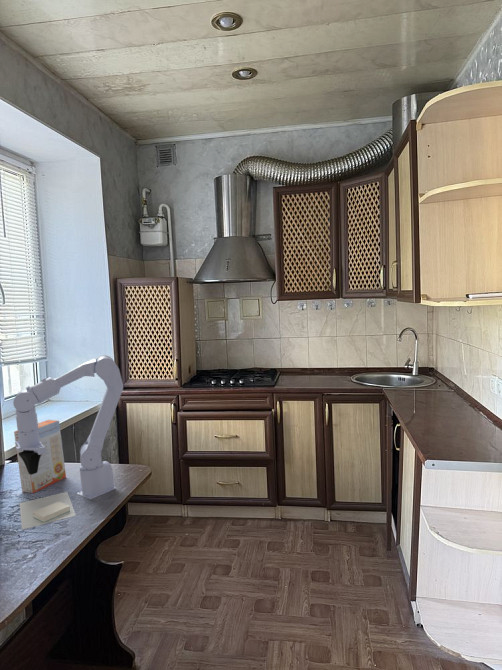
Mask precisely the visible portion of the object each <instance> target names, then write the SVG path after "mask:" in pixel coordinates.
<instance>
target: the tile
mask: <svg viewBox="0 0 502 670" xmlns="http://www.w3.org/2000/svg"><path fill="white" fill-rule="evenodd" d="M69 511H70V506H68V505H66V504H64V503H61V502H56V503H54V504H51V505H49V506H46V507H44V508H42V509H39V510H37V511H34V512H33V518H35V519H37V520H40V521H42V522H47V521H49V520H51V519H54V518H56V517H58V516H60V515H63V514H65V513H67V512H69Z"/></svg>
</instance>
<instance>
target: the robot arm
mask: <svg viewBox="0 0 502 670" xmlns="http://www.w3.org/2000/svg"><path fill="white" fill-rule="evenodd" d="M95 374H96V375H97V377H99V378H100V379H101V380H102V381H103V382H104V384H105V386H106V389H105V393H104V396H103V398H102V401H101V404H100V407H99V409H98V412H97V414H96V417H95V420H94V422H93V425H92V428H91V430H90V434H89V435H88V436H87V439H86V441H85V442H84V443H83V444H82V445H81V447H80V449H79V455H80V458H79V463H80V465H79V472H80V473H79V474H80V482H81V483H80V484H81V491H79V492H76V495H77V496H80V497H83V498H85V499H88V500H92V499H95V498H97V497H99V496H102V495H104V494H107V493H109V492H111V491H114V490H116V489H117V488H116V487H115V481H114V480H115V479H114V474H113V473H114V471H113V467H112V465H111V463H110V462H109V461H107V460H102V451H103V447H104V442H105V438H106V436H107V434H108V430H109V428H110V425H111V422H112V419H113V417H114V415H115V412H116V408H117V407H118V404H119V401H120V398H121V396H122V394H123V393H122V392H123V390H124V384H123V383H124V382H123V379H122V375H121V371H120V368H119V367H118V365H117V364H116V362H115V361H114V359H113V358H112V357H111V356H110V355H107V354H106V355H105V354H104V355H100V356H98V357H97V358H92V359H90V360H88V361H85V362H84V363H82V364H80V365H78V366H75V368H72V369H70V370H69V371H67V372H66V373H63V374H62V375H59V376H58V377H56V378H53V377H47V378H46V377H43V378H41V380H40V381H39V382H37V383H35V384H34V385H32V386H29V385H28V386H27V387H25V389H23V390H20V391H18V392H17V394H16V395H15V397H14V398H13V402H12V403H13V407H14V409H15V414H16V417H15V421H16V429H17V430H16V431H18V438H19V441H16V442H15V441H14V445H15V450H16V451H17V450H18V451H19V450H23V452H20V453H19V456H20V457H21V458H22V460H23V461H24V463H25V466H26V468H27V471H28V473H29V474H30V475H32V474H35V473H37V472H38V465H39V460H40V457H41V455H42V454H44V453H46V448H45V446H43V445H42V443H41V442H40V438H39V429H38V423H39V422H38V414H37V412H36V405H38V404H39V405H40V404H41V403H43V402H45V401H47V400H49V399H51V398H53V397H55V396H57V395H59V394H60V391H61V389H62V388H63V387H65V386H67V385H70V384H71V383H74V382H76V381H77V380H80V379H82V378H84V377H90V378H91V377H93V378H94V377H96V375H95Z"/></svg>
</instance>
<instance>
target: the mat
mask: <svg viewBox="0 0 502 670" xmlns="http://www.w3.org/2000/svg"><path fill="white" fill-rule="evenodd" d="M56 502H61V503H64V504H66V505H68V506H70V511H69V512H67V513H65V514H63V515H60V516H58V517H56V518H54V519H51V520H49V521H47V522H42V521H40V520H37V519H35V518H33V512H34V511H37V510H39V509H42V508H44V507H46V506H49V505H51V504H54V503H56ZM19 511H20V522H21V523H20V524H21V530H26V529H30V528H33V527H38V526H42V525H45V524H49V523H53V522H56V521H61V520H65V519H69V518H71V517H77V515H76V511H75V510H74V507H73V504H72V501H71V498H70V496H69V493H68V491H65V492H61V493H57V494H52V495H47V496H44V497H39V498H35V499H32V500H31V499H30V500H28V501H23V502H19Z"/></svg>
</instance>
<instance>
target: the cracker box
mask: <svg viewBox="0 0 502 670" xmlns="http://www.w3.org/2000/svg"><path fill="white" fill-rule="evenodd" d="M60 425H61V424H60V421H59V420H58V419H56V420H55V419H47V420H44V421H41V422H38V429H39V438H40V442H41V443H42V445H43V446H45V448H46V453H44V454H42V455H41V457H40V460H39V465H38V472H37V473H35V474H32V475H30V474H29V473H28V471H27V468H26V466H25V463H24V461H23V460H22V458H21V457H20V456H19V453H20V452H23V450H19V451H18V450H16V454H17V462H18V464H17V465H18V469H19V479H20V485H21V491H22V493H30V494H35V493H38V492H39V491H41V490H43V489H46V488H47V487H50V486H51V485H54V484H55V483H58V482H60V481H61V480H64V479H66V477H67V474H66V473H67V471H66V468H65V467H66V466H65V465H66V464H65V458H64V451H63V441H62V434H61V426H60ZM13 433H14V443H15V442H16V441H19V438H18V430H15V431H14V432H13Z"/></svg>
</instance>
